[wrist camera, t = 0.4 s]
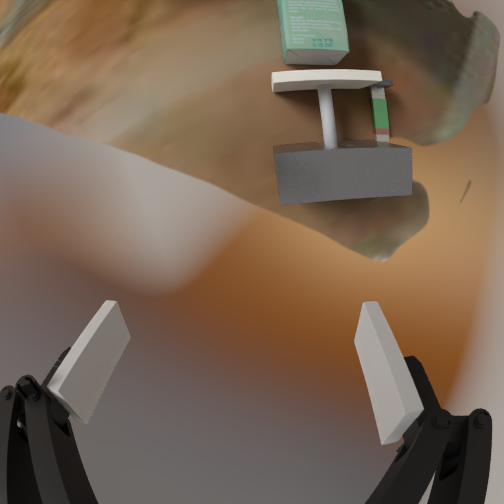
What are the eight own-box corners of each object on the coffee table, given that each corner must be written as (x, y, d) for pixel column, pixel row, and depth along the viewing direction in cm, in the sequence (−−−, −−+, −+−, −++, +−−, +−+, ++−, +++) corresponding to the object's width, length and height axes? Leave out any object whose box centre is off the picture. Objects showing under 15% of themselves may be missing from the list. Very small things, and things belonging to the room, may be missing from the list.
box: (325, -10, 23) (335, -33, 16) (337, 66, 29) (352, 53, 22) (274, -12, 24) (274, -36, 17) (283, 65, 30) (286, 50, 23)
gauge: (263, 82, 31) (260, 62, 20) (380, 79, 29) (422, 66, 18) (277, 181, 37) (280, 205, 26) (388, 173, 35) (430, 194, 24)
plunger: (271, 84, 31) (272, 72, 23) (381, 82, 29) (407, 74, 22) (284, 177, 36) (288, 190, 29) (389, 170, 34) (415, 182, 27)
